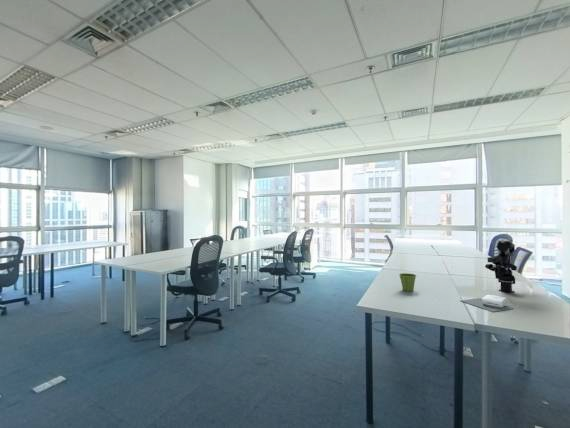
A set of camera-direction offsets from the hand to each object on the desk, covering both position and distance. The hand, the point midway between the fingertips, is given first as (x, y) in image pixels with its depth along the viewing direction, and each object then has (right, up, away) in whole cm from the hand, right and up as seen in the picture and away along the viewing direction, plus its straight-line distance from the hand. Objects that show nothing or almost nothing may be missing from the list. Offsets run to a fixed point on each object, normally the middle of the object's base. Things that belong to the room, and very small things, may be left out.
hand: (496, 278), depth 172 cm
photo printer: (-10, -10, -12) cm, 18 cm away
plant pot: (-50, -14, +19) cm, 55 cm away
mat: (-19, -12, -15) cm, 27 cm away
